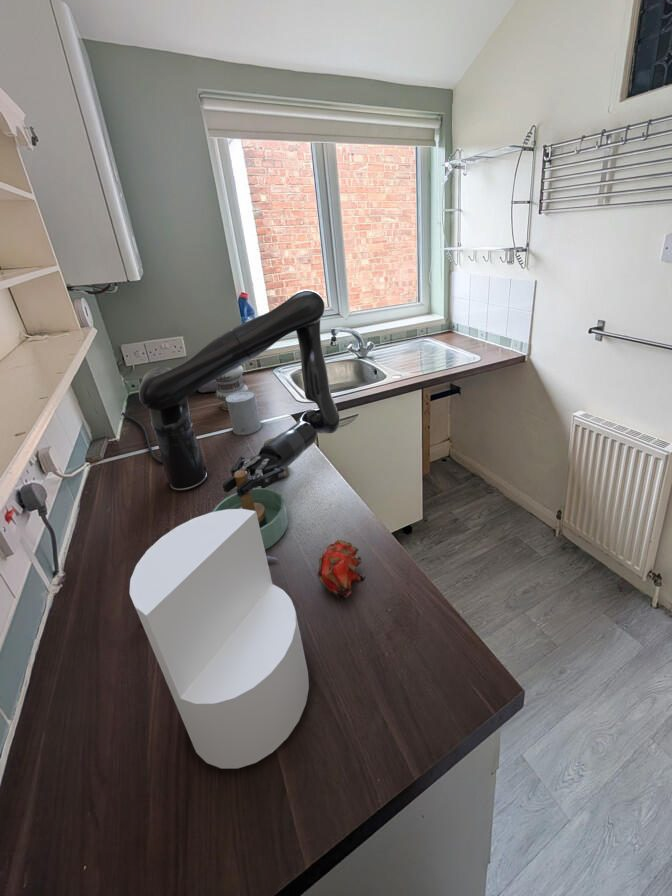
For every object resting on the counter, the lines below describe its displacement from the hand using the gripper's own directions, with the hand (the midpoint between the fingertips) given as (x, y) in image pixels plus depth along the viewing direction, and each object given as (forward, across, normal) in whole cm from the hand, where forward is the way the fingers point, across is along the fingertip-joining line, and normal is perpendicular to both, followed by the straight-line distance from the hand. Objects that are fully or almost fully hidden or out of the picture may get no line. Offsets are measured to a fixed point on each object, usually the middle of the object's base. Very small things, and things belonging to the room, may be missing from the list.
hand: (231, 490), depth 86 cm
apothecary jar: (-54, -57, +14) cm, 80 cm away
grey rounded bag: (-66, -78, +14) cm, 103 cm away
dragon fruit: (+1, +27, +14) cm, 30 cm away
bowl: (-3, 0, +13) cm, 14 cm away
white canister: (-41, -38, +14) cm, 57 cm away
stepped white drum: (+24, +25, +14) cm, 37 cm away
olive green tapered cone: (-23, -9, +14) cm, 28 cm away
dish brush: (-3, 0, +13) cm, 13 cm away
